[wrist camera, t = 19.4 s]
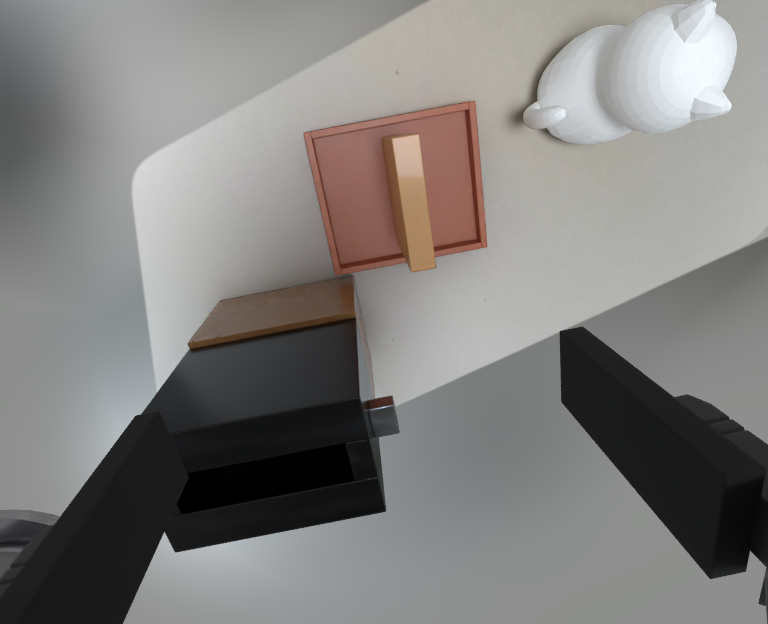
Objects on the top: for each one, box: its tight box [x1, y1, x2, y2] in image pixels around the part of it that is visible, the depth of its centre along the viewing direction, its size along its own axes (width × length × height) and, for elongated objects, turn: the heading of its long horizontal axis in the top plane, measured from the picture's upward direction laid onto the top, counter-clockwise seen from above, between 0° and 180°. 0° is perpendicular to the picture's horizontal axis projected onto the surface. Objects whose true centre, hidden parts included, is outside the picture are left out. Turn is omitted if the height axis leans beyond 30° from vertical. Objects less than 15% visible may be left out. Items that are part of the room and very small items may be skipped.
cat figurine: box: [523, 0, 737, 144], centre depth 33 cm, size 9×12×15 cm
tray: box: [304, 101, 487, 276], centre depth 41 cm, size 15×13×2 cm
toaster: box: [141, 276, 399, 552], centre depth 37 cm, size 16×10×22 cm, turn 100°
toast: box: [381, 133, 436, 272], centre depth 37 cm, size 10×2×10 cm, turn 9°
